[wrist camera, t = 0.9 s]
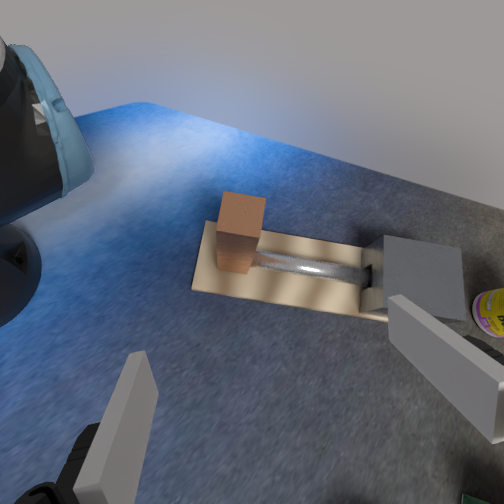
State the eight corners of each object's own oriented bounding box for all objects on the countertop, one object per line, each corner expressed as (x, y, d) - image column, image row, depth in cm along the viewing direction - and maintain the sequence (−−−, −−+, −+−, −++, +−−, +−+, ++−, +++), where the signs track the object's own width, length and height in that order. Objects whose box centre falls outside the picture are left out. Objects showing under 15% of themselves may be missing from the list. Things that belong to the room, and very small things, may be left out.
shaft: (217, 269, 41) (215, 230, 27) (222, 242, 42) (223, 190, 28) (368, 295, 42) (441, 269, 28) (369, 267, 43) (439, 229, 29)
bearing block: (359, 313, 41) (383, 307, 35) (361, 250, 44) (383, 234, 38) (430, 324, 42) (466, 321, 36) (428, 261, 44) (460, 248, 38)
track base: (192, 289, 41) (191, 288, 40) (206, 223, 44) (205, 220, 43) (428, 328, 42) (432, 328, 41) (425, 261, 46) (429, 259, 45)
